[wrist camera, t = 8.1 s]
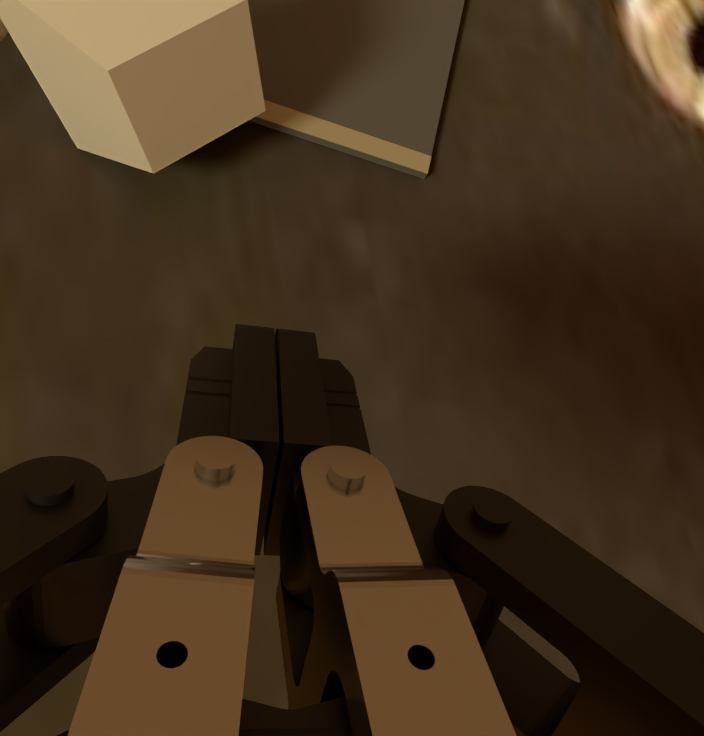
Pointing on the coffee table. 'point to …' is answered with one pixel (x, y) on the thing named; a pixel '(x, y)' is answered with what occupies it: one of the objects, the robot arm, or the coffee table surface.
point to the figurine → (141, 71)
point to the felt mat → (357, 74)
